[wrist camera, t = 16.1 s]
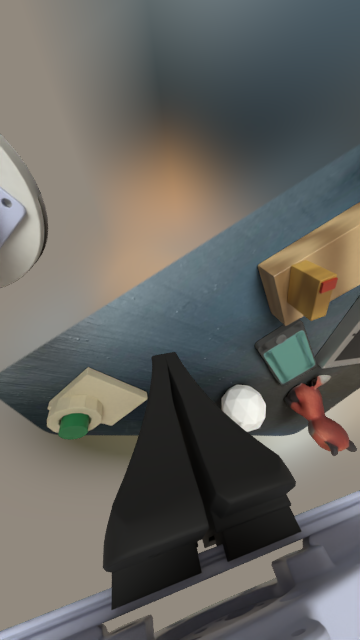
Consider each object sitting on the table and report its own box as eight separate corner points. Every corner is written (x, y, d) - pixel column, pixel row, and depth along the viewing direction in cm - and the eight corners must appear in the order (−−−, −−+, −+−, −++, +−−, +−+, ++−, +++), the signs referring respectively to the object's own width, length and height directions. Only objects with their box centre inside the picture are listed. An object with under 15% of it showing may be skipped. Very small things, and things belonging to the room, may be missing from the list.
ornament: (224, 406, 39) (218, 441, 32) (223, 373, 37) (217, 402, 29) (263, 413, 36) (266, 452, 29) (264, 377, 34) (268, 410, 27)
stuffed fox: (332, 368, 41) (396, 427, 31) (301, 400, 47) (347, 457, 37) (306, 369, 38) (367, 433, 29) (276, 403, 44) (319, 465, 35)
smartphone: (303, 320, 27) (318, 367, 36) (296, 315, 28) (313, 362, 37) (256, 350, 29) (282, 388, 37) (252, 344, 30) (278, 383, 38)
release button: (55, 422, 25) (52, 436, 23) (71, 409, 24) (68, 423, 23) (79, 427, 27) (77, 441, 25) (94, 415, 26) (93, 429, 24)
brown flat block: (271, 312, 26) (285, 326, 24) (256, 265, 21) (273, 276, 19) (357, 263, 25) (381, 272, 23) (363, 199, 20) (395, 203, 18)
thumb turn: (300, 297, 22) (328, 317, 19) (286, 302, 22) (312, 322, 19) (306, 259, 19) (340, 275, 16) (290, 265, 19) (322, 282, 16)
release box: (43, 405, 26) (36, 428, 24) (87, 366, 24) (84, 387, 22) (106, 422, 32) (105, 442, 30) (147, 391, 30) (149, 410, 28)
